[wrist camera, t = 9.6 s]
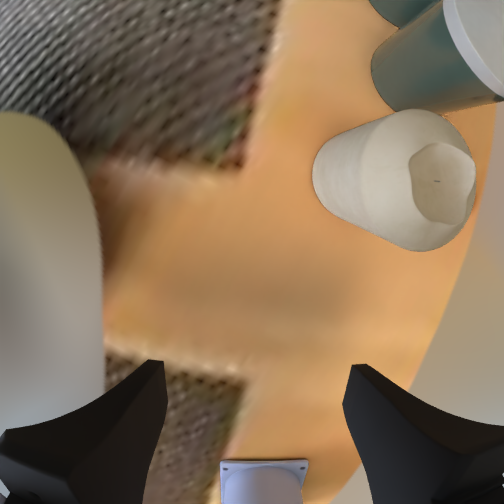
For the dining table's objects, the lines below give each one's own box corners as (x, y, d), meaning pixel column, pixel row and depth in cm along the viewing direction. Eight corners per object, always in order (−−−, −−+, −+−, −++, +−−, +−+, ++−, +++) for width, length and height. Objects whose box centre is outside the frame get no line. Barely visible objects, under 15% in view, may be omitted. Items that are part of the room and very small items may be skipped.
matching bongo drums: (445, 128, 18) (551, 115, 8) (370, 110, 18) (465, 70, 8) (429, -16, 15) (496, -70, 5) (360, -39, 15) (411, -115, 5)
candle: (370, 120, 18) (468, 85, 8) (404, 197, 19) (510, 221, 9) (295, 154, 18) (348, 134, 9) (333, 235, 20) (410, 289, 10)
